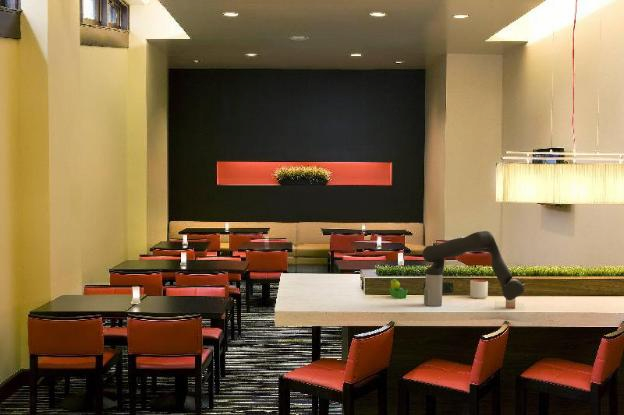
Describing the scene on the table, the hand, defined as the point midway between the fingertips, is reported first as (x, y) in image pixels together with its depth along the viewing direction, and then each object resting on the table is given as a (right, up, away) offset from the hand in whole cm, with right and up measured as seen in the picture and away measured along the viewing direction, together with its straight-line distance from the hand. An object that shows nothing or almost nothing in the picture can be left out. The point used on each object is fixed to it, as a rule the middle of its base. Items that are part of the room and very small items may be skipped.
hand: (511, 281), depth 433 cm
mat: (+4, -16, +21) cm, 27 cm away
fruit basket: (-56, -14, +46) cm, 74 cm away
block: (+3, -16, +14) cm, 21 cm away
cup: (-7, -14, +49) cm, 52 cm away
